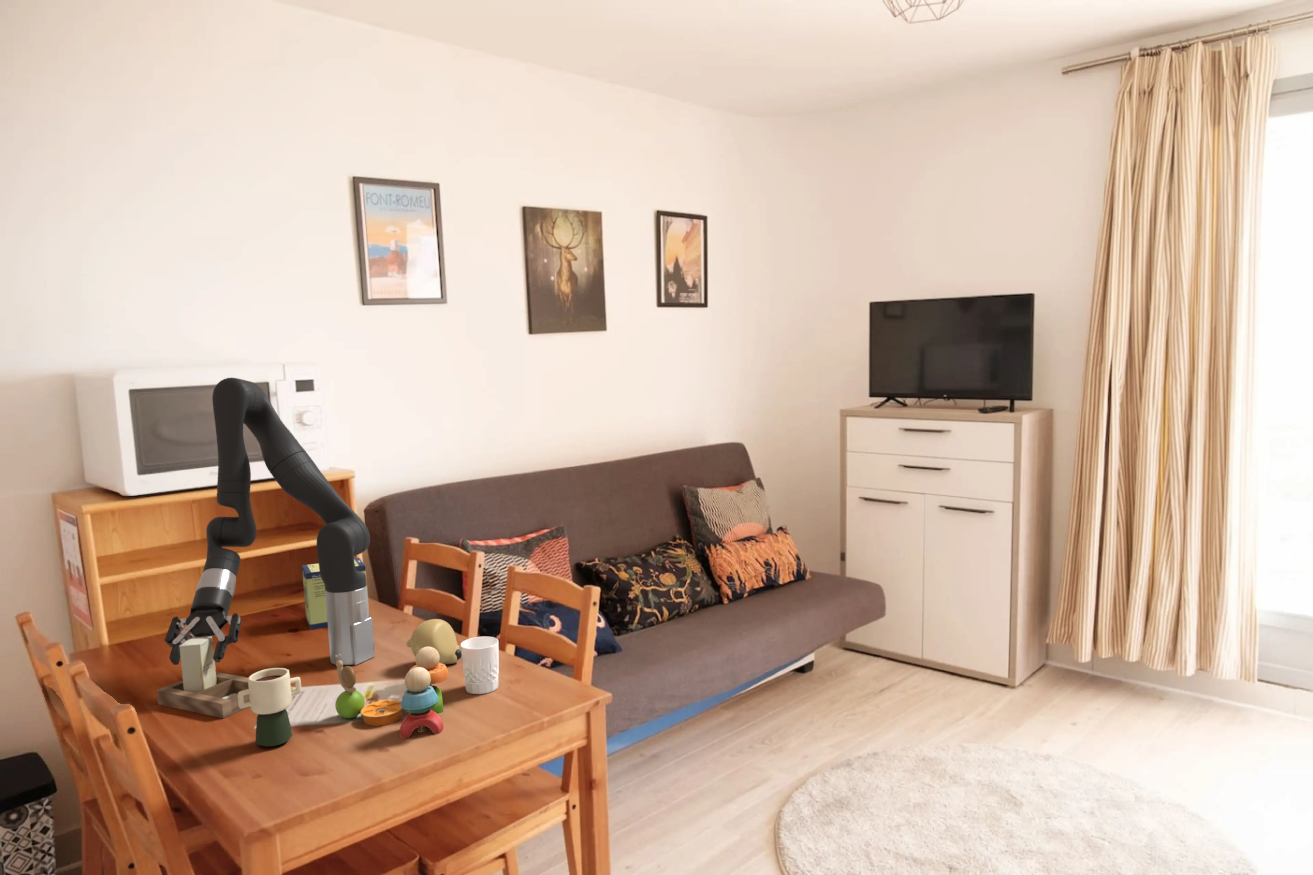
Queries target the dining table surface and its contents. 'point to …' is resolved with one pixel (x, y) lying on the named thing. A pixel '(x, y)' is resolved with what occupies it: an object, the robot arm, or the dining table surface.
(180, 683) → the wooden compartment tray
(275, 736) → the character mug
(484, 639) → the white cup
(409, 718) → the wooden stacking toy
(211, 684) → the skincare box
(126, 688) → the dining table surface
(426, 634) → the beige animal figurine
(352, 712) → the snail figurine
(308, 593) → the protein box
